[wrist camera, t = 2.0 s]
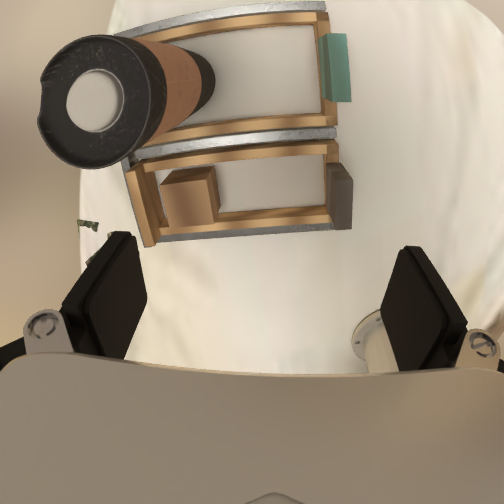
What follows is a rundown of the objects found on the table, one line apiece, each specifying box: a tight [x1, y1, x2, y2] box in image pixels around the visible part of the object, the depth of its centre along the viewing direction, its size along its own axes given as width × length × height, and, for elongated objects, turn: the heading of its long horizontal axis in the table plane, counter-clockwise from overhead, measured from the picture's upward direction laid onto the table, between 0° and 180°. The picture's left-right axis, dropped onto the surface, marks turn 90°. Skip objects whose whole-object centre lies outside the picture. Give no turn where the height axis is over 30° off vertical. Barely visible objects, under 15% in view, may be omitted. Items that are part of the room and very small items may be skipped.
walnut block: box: [159, 165, 221, 228], centre depth 35 cm, size 5×5×5 cm
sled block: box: [125, 139, 353, 247], centre depth 33 cm, size 22×9×8 cm, turn 96°
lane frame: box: [114, 1, 336, 248], centre depth 32 cm, size 24×26×2 cm
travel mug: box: [37, 35, 215, 169], centre depth 22 cm, size 8×8×20 cm
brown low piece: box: [136, 12, 351, 146], centre depth 26 cm, size 22×12×8 cm, turn 96°
